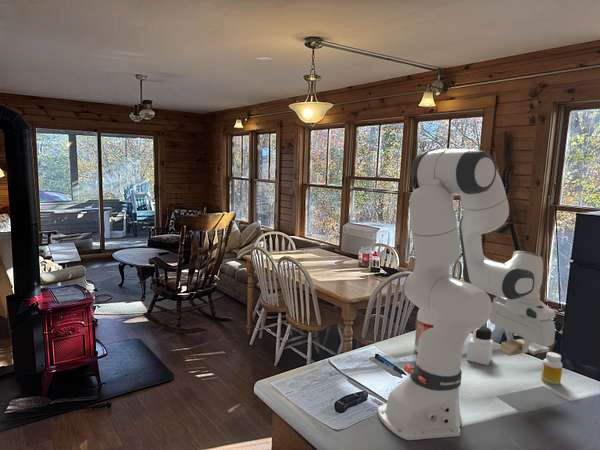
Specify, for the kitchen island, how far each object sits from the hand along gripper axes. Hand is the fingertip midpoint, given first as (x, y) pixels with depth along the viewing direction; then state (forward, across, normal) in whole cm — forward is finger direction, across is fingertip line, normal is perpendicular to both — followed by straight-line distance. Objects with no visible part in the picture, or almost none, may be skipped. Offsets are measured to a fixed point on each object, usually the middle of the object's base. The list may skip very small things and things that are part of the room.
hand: (517, 348), depth 126 cm
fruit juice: (+14, -31, -7) cm, 35 cm away
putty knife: (+1, 0, +2) cm, 2 cm away
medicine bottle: (+14, -20, +7) cm, 25 cm away
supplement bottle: (+14, 0, +17) cm, 22 cm away
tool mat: (+14, +6, +2) cm, 15 cm away
